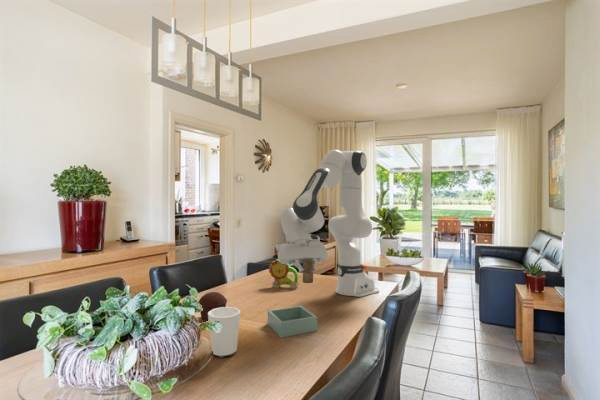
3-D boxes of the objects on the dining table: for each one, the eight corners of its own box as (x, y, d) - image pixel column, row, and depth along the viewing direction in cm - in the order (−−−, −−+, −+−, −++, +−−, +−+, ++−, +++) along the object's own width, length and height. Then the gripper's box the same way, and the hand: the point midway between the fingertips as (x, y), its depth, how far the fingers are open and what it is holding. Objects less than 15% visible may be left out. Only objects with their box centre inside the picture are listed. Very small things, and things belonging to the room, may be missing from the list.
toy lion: (299, 286, 179) (299, 258, 179) (296, 289, 174) (296, 260, 174) (271, 285, 183) (271, 257, 183) (268, 287, 177) (268, 259, 177)
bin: (300, 318, 132) (300, 305, 132) (317, 330, 119) (317, 316, 119) (267, 323, 126) (267, 310, 126) (281, 337, 113) (280, 323, 113)
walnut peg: (310, 280, 128) (310, 259, 128) (314, 282, 124) (315, 261, 124) (300, 281, 126) (301, 260, 126) (305, 283, 123) (305, 262, 123)
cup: (224, 363, 95) (224, 319, 95) (200, 355, 101) (200, 313, 101) (247, 350, 104) (247, 310, 104) (224, 343, 109) (224, 304, 109)
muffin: (193, 317, 133) (193, 292, 133) (219, 311, 140) (219, 287, 140) (204, 325, 124) (204, 299, 124) (232, 319, 131) (231, 294, 131)
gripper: (276, 237, 127) (285, 267, 118) (322, 236, 136) (334, 264, 127) (272, 247, 131) (280, 277, 122) (317, 245, 140) (328, 273, 131)
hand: (308, 270), depth 125 cm, fingers closed on walnut peg, 4 cm apart
